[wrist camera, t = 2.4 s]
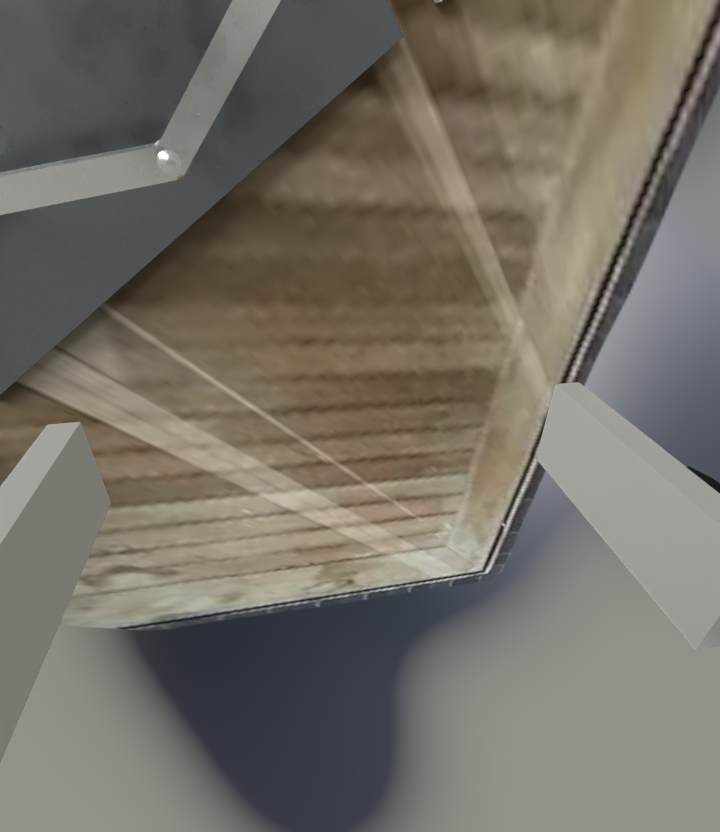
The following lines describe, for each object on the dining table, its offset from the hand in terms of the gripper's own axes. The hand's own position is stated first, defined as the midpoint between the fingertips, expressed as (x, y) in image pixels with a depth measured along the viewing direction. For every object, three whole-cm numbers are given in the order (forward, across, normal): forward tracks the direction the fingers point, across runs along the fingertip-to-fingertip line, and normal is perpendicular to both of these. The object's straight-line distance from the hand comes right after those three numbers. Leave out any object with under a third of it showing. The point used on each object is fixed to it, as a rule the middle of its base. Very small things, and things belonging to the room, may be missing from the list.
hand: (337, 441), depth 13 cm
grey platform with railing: (+26, -13, +6) cm, 30 cm away
